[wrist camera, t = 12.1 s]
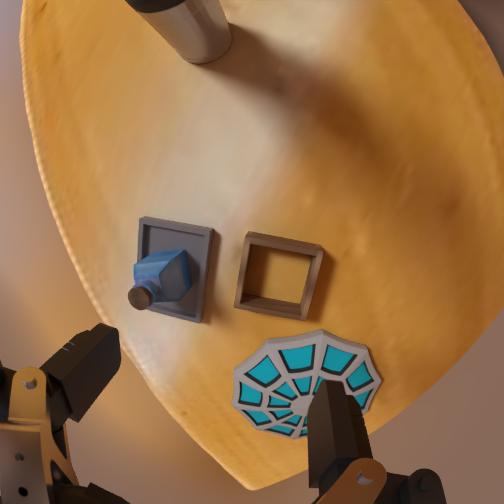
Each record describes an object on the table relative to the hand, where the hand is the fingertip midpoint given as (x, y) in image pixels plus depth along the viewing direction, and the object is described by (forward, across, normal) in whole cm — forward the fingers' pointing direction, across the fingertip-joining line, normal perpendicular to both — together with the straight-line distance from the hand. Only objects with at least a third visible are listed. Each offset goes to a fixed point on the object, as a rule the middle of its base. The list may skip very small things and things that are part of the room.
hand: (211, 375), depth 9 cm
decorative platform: (+34, -15, +31) cm, 48 cm away
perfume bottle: (+33, +14, +10) cm, 37 cm away
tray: (+33, +14, +10) cm, 37 cm away
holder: (+33, -3, +7) cm, 34 cm away
